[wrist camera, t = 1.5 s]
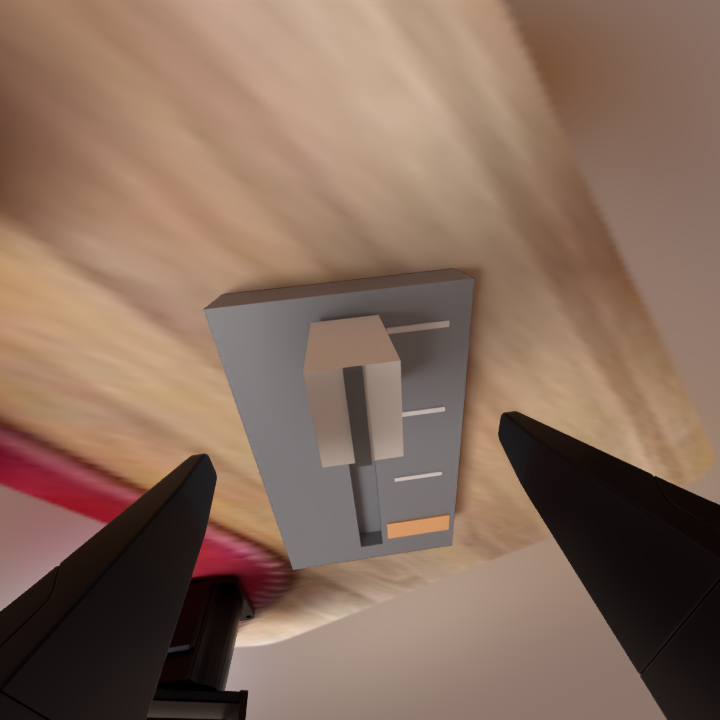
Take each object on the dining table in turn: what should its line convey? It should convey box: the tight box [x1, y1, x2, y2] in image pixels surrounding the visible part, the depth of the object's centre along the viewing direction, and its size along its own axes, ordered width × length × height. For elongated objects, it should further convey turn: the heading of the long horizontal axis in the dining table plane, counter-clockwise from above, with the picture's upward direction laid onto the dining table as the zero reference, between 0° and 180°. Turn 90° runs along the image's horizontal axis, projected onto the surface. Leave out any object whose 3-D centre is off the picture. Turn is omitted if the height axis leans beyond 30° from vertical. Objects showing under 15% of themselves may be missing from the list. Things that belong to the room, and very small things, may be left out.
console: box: [203, 269, 475, 570], centre depth 19 cm, size 20×12×3 cm, turn 5°
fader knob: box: [303, 315, 404, 468], centre depth 12 cm, size 4×3×6 cm
